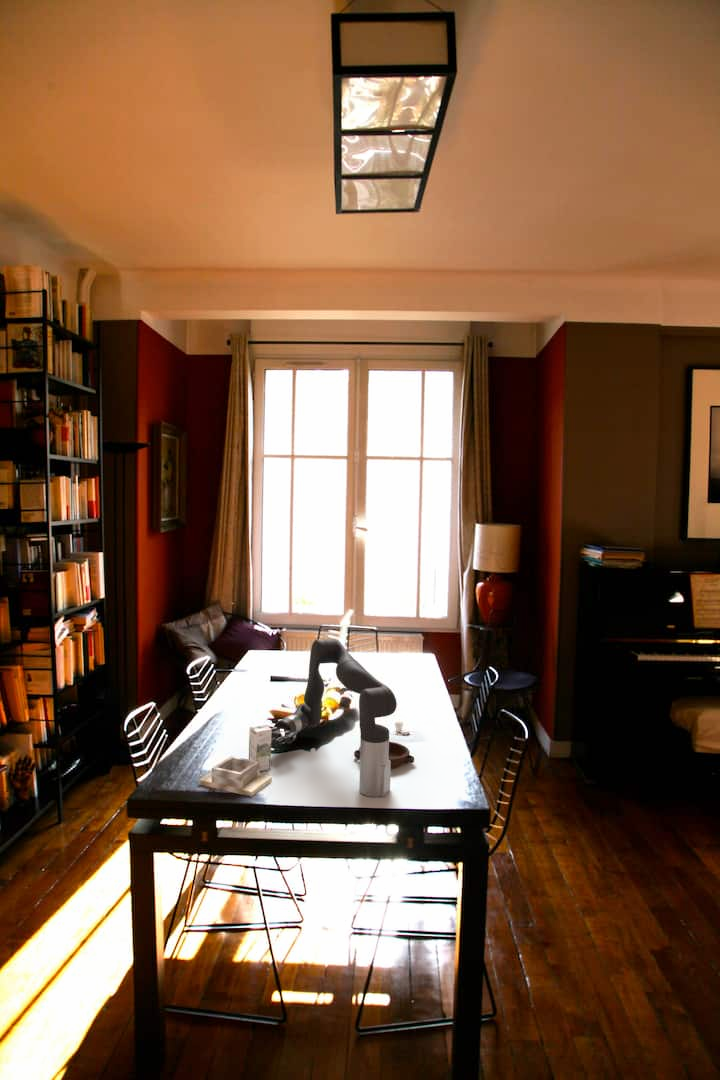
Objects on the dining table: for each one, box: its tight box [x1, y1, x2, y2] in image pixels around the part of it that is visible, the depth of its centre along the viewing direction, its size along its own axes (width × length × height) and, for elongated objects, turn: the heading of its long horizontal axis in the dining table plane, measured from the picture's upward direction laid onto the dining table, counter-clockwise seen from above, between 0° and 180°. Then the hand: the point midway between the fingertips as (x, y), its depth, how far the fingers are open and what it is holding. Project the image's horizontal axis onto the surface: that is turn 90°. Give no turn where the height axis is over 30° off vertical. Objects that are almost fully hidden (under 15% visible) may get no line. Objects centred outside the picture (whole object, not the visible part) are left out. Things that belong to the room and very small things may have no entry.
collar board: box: [198, 755, 273, 798], centre depth 196 cm, size 20×12×6 cm, turn 68°
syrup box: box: [248, 724, 272, 773], centre depth 208 cm, size 6×6×14 cm
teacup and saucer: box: [389, 720, 410, 736], centre depth 248 cm, size 9×8×4 cm
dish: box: [353, 741, 415, 769], centre depth 216 cm, size 18×22×5 cm
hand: (265, 741), depth 211 cm, fingers open, 8 cm apart
